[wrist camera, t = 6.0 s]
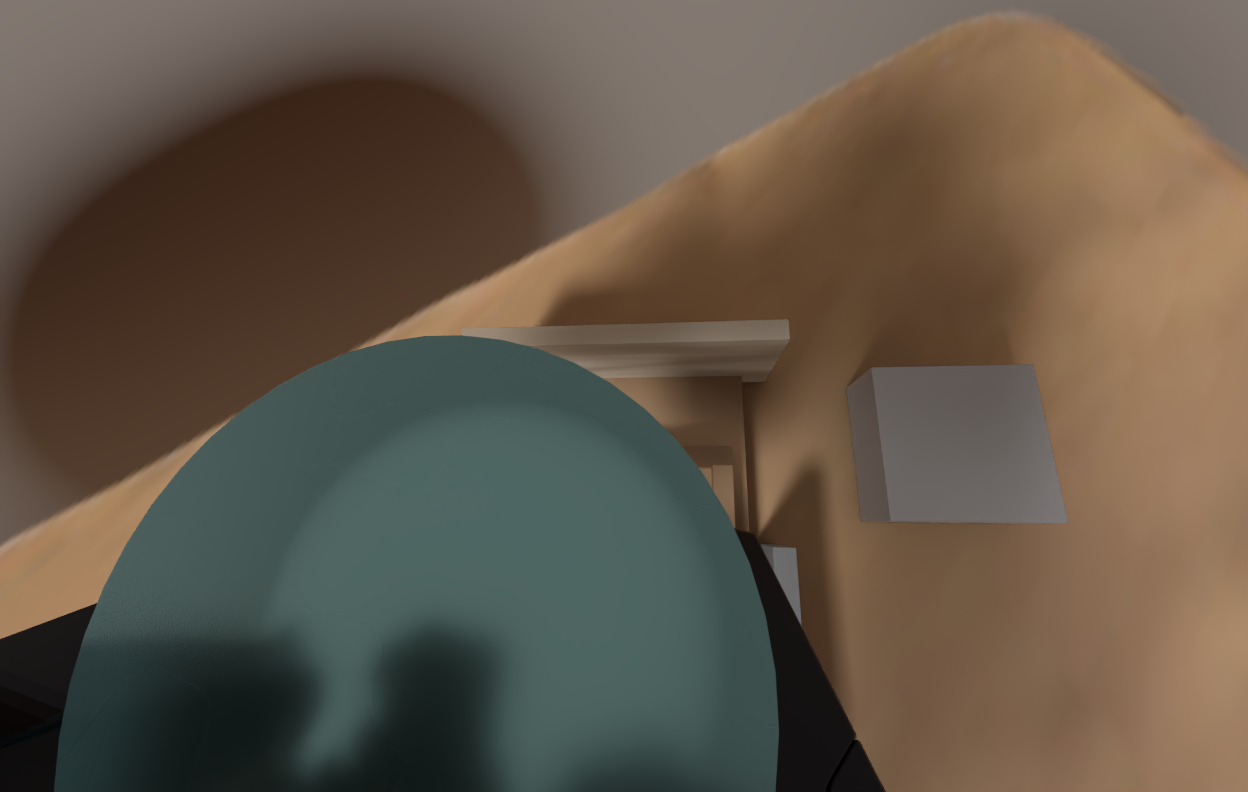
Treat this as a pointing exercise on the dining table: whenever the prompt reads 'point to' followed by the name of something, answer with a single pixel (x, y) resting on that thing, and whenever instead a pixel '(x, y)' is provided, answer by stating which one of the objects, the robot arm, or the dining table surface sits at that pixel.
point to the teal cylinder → (429, 597)
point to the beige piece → (677, 382)
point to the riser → (953, 446)
